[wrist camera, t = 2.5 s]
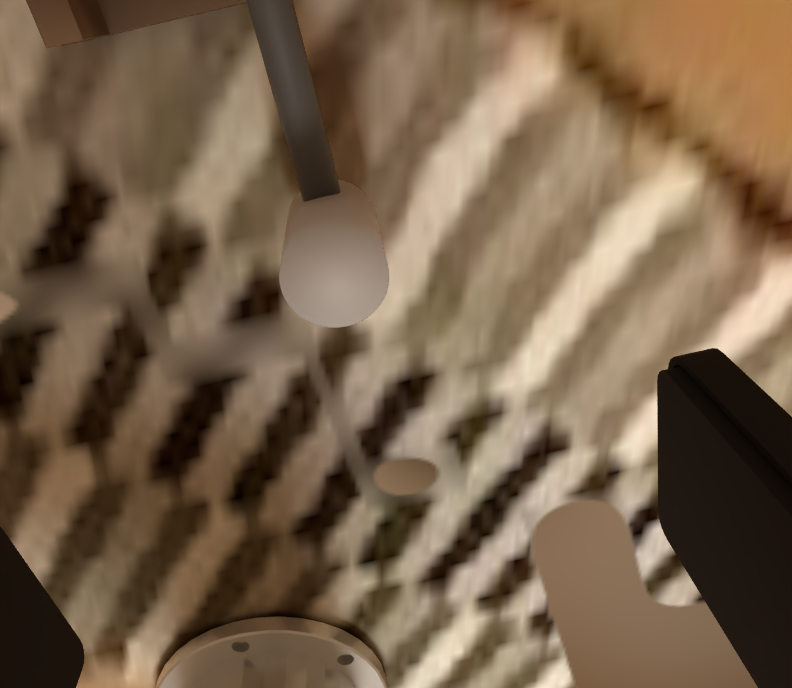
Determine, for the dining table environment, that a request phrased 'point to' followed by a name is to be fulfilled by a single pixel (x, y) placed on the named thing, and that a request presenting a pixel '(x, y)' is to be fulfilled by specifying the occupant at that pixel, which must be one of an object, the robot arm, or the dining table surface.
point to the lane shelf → (109, 16)
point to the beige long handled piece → (318, 192)
